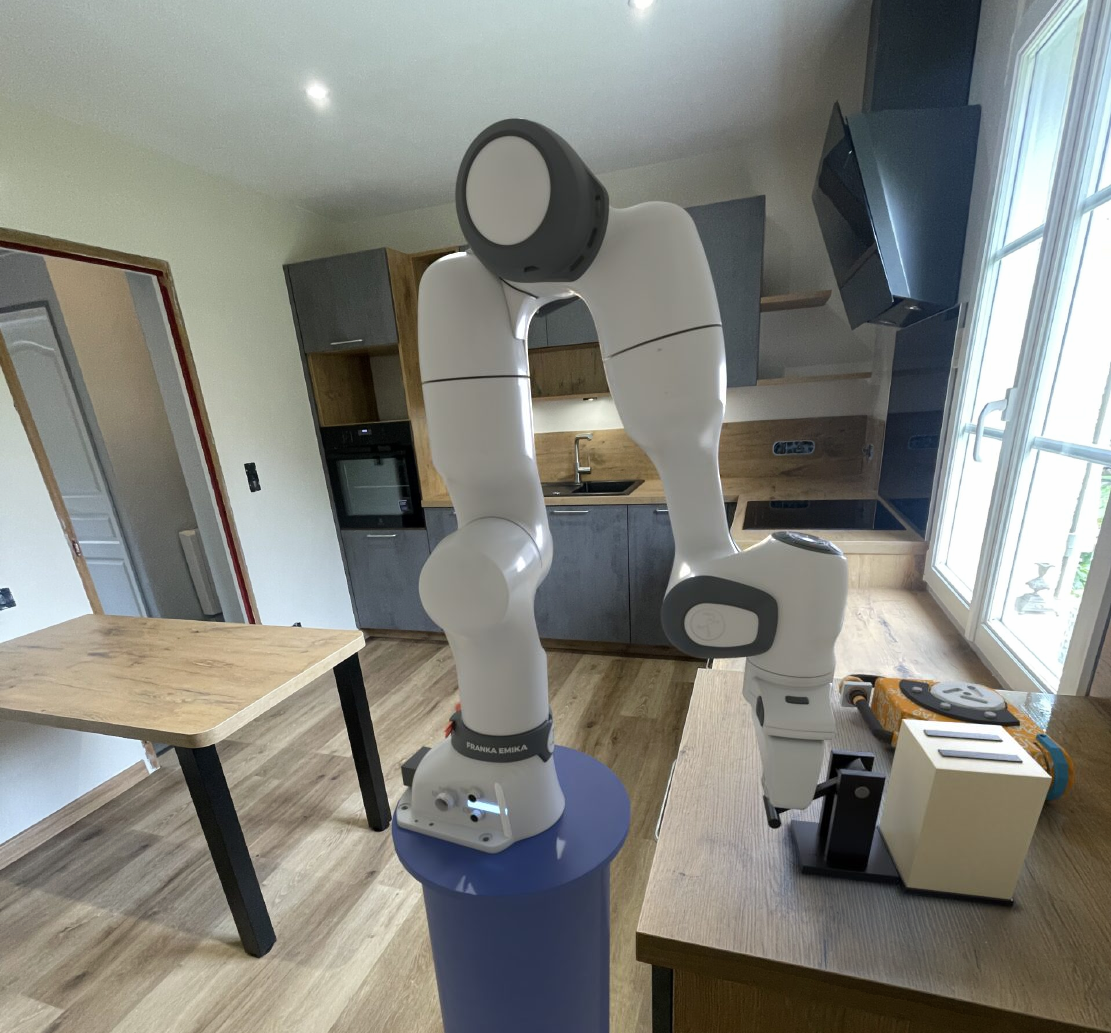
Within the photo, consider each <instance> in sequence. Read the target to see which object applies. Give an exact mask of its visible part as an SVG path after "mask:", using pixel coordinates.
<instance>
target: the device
mask: <svg viewBox="0 0 1111 1033" xmlns="http://www.w3.org/2000/svg"><path fill="white" fill-rule="evenodd" d="M872 691H873V692H872ZM838 693H839V694H840V696H839V702H838V703H839V705H840V707H842V708H856V709H857V710H858V712H859V714H860V716H861V717H862V719H863V721H864V722H865V724H866V726H867V728H868V729H869V731H870V733H871V735H872V736H873V738H875V739H877V741H879V742H880V743H883V744H885V745H889V746H890V747H891V748H894V749H895V750H896V746H897V741H898V737H899V732H900V727H901V723H902V719H908V720H923V721H938V722H952V723H967V724H982V725H997V726H1001V727H1002V728H1003V729H1004V730H1005V731H1006V732H1007V733H1008V734H1009V735H1010V736H1011V737H1012V738H1013V739H1014V740H1015V741H1016V742H1017V743H1018V744H1019V745H1020V746H1021V747H1022V748H1023V749H1024V750H1025V751H1026V752H1027V753H1028V754H1029V755H1030V756H1031V757H1032V758H1033V759H1034V760H1035V761H1036V762H1037V763H1038V764H1039V765H1040V766H1041V767H1042V768H1043V769H1044V770H1045V771H1046V772H1047V773H1048V774H1049V775H1050V776H1051V777H1052V780H1051V783H1050V786H1049V789H1048V792H1047V795H1046V798H1045V801H1046V800H1047V801H1053V800H1059V799H1060V798H1061V797H1062V796H1064V795H1065V796H1066V795H1067V794H1068V793H1069V792H1070V790H1071V788H1072V786H1073V785H1074V783H1075V781H1076V776H1075V769H1074V768H1075V767H1074V761H1073V759H1071V757H1070V755H1069V754H1068V752H1067V751H1066V750H1065V749H1064V748H1063V747H1062V746H1061V745H1060V744H1059V743H1058V742H1056V741H1055V740H1054V739H1053V738H1052V737H1051V736H1050V735H1048V734H1047V733H1046V731H1044V730H1043V729H1041V727H1039V726H1038V724H1036V723H1035V722H1034V721H1033V719H1031V718H1030V717H1029V716H1028V715H1027V714H1026V713H1025V712H1024V711H1021V710H1019V709H1018V708H1017V707H1015V706H1014V705H1013V704H1012V702H1010V701H1009V700H1008V699H1007V698H1005V697H1004V696H1003V695H1001V693H999V692H998V691H997V690H996V689H994V688H992V687H989V686H986V685H984V684H980V683H969V682H964V681H957V680H951V681H949V680H948V681H934V679H917V678H913V679H912V678H898V677H896V678H895V677H885V676H881V675H875V674H866V673H855V674H854V673H852V674H847V675H846V676H844V677H843V678H841V679H840V680H839V683H838ZM871 697H872V698H871ZM870 702H871V703H870Z"/></svg>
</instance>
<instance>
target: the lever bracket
mask: <svg viewBox="0 0 1111 1033" xmlns="http://www.w3.org/2000/svg"><path fill="white" fill-rule="evenodd" d="M858 758H860V760H861V761H862V763H863V765H864V766H865V768H866V769H867V771H857V770H845V769H839V774H838V773H837V771H836V768H837V767H839V766H842V765H844V764H846V763H849V762H851V761H854V760H856V759H858ZM875 759H876V758H875V755H874V753H873V752H871V751H857V750H844V749H833V748H832V749H830V753H829V760H828V766H827V773H826V778H825V781H827V780H830V779H832V778H835V777H837V776H838V780H837V786H836V791H835V792H833V793H830V794H828V795H825V796H823V797H822V801H821V806H820V814H819V818H818V819H819V820H818V822H817V821H806V820H798V819H797V820H796V819H791V820H790V827H789V828H790V832H791V836H792V841H793V845H794V848H795V853H796V856H797V860H798V865H799V868H800V873H801V874H803V875H811V876H820V877H828V878H835V879H837V878H838V879H844V880H852V881H861V882H870V883H878V884H887V885H895V886H898V883H899V875H898V873H897V871H896V868H895V866H894V864H893V862H892V860H891V857H890V855H889V853H888V851H887V849H886V846H885V844H884V842H883V840H882V838H881V835H880V833H879V831H878V829H876V828H877V822H878V818H879V813H880V809H881V808H880V807H881V803H882V798H883V793H884V788H885V784H886V779H887V777H886V776H885V774H884V772H880V771H873V767H874V763H875Z"/></svg>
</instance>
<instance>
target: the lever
mask: <svg viewBox="0 0 1111 1033" xmlns="http://www.w3.org/2000/svg"><path fill="white" fill-rule="evenodd" d="M839 769H845V770H857V771H867V769H866V768H865V766H864V765H863V763H862V761H861V760H860V758H858V759H856V760H854V761H851V762H849V763H846V764H844V765H842V766H839V767H837V768H836V771H837V773H838V774H839ZM837 780H838V776H837V777H835V778H832V779H830V780H827V781H826V780H825V781H823V782H821V783H817V786H816V790H815V794H814V797H813V800H812V802H813V801H815V800H818V799H821V798H823V796H825V795H828V794H830V793H833V792H835V791H836V786H837ZM762 800H763V806H764V810H765V815H766V822H767V825H768V827H769V828H771V829H772V830H776V829H780V828H781V826H782V820H781V816H780V814H783V813H786V812H788V811H790V810H792V809H787V808H779V807H775V806H773V805H772V804H771V803H770V799H769V798H767V797H765V795H764V794H763V795H762Z"/></svg>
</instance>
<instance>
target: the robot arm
mask: <svg viewBox="0 0 1111 1033" xmlns="http://www.w3.org/2000/svg"><path fill="white" fill-rule="evenodd" d="M454 192H455V193H454V194H455V196H454V199H455V201H454V202H455V210H456V215H457V220H458V223H459V228H460V230H461V232H462V236H463V238H464V239H465V241H466V243H467V245H468V247H469V248H467V249H466V250H465V251H460V252H454V253H450V254H447V255H444V256H442V257H440V258H438V259H436V260H435V261H434V262H432V263H431V264H430V265H429V266H428V267H427V268H426V270H425V271H424V272H423V274H422V276H421V279H420V281H419V286H418V297H417V348H418V362H419V363H418V364H419V371H420V372H419V373H420V382H421V389H422V390H421V391H422V396H423V397H422V398H423V403H424V410H425V411H424V412H425V419H426V427H427V433H428V441H429V448H430V449H429V450H430V456H431V461H432V464H433V467H434V468H435V470H436V473H437V474H439V476H440V477H441V479H442V480H443V483H444V485H445V487H446V490H447V492H448V495H449V498H450V500H451V503H452V507H453V509H454V513H455V517H456V520H457V522H456V523H457V530H455V531H453V532H451V533H450V534H448V535H446V536H445V537H444V538H442V539H441V540H440V541H439V542H438V543H437V545H436V546H435V548H434V549H433V550H432V552H431V553H430V554H429V556H428V558H427V560H426V561H425V563H424V565H423V567H422V569H421V571H420V574H419V578H418V579H419V580H418V593H419V594H418V595H419V598H420V603H421V605H422V607H423V609H424V611H425V612H426V614H427V616H428V617H429V618H430V619H431V620H432V622H433V623H434V624H435V625H437V627H439V628H441V629H442V630H443V632H444V635H445V637H446V640H447V642H448V645H449V648H450V650H451V654H452V657H453V660H454V661H453V662H454V664H455V670H456V677H457V685H458V693H459V701H458V703H457V704H456V705H455V712H454V713H453V714H451V715H450V717H449V719H448V724H447V725H446V726H445V728H444V730H443V732H444V734H445V735H444V738H443V739H442V740H441V741H439V742H438V743H436V744H435V745H433V746H432V747H429V746H424V745H423V746H421V747H420V748H419V749H418V750H417V751H416V752H414V754H412V755H411V756H410V758H408V759H407V760H406V761H405V762H404V763H403V764H402V765H400V771H401V777H402V784H403V786H404V787H407V788H406V789H405V790H404V791H403V793H404V794H403V793H402V795H401V796H402V797H401V796H400V798H401V799H400V798H399V800H400V801H399V800H398V801H399V804H398V807H397V824H398V826H399V827H401V828H404V829H408V830H411V831H415V832H418V833H422V834H425V835H429V836H432V837H435V838H439V839H442V840H446V841H449V842H453V843H456V844H460V845H463V846H467V847H470V848H474V849H477V850H481V851H484V852H487V853H498V852H501V851H502V850H504V849H506V848H507V847H509V846H510V845H512V844H513V843H514V842H517V841H519V840H522V839H526V838H529V837H532V836H535V835H537V834H539V833H541V832H543V831H545V830H547V829H548V828H550V827H551V826H552V825H553V824H554V823H555V822H556V821H557V820H558V819H559V818H560V816H561V815H562V813H563V810H564V807H565V799H564V795H563V793H562V790H561V788H560V785H559V782H558V778H557V774H556V770H555V765H554V760H553V750H554V744H555V723H554V720H553V719H554V718H553V710H552V708H551V706H550V704H549V680H548V657H547V652H546V651H545V649H544V648H543V646H542V643H541V640H540V636H539V631H538V628H537V623H536V618H535V598H536V593H537V590H538V588H539V586H541V584H542V583H543V582H544V581H545V579H546V577H547V576H548V574H549V572H550V570H551V567H552V563H553V556H554V541H553V540H554V539H553V536H552V533H551V530H550V526H549V520H548V512H547V508H546V503H545V497H544V493H543V487H542V483H541V478H540V475H539V473H540V472H539V469H538V463H537V455H536V445H535V434H534V420H533V406H532V405H533V404H532V392H531V379H530V366H529V356H528V333H529V326H530V324H531V320H532V318H533V317H534V318H544V317H546V316H548V315H550V314H552V313H554V312H556V311H558V310H559V309H562V308H564V307H567V306H568V305H571V304H573V303H576V302H578V301H579V300H581V299H582V300H583V301H584V303H585V304H586V306H587V307H588V309H589V312H590V314H591V317H592V319H593V322H594V326H595V330H596V333H597V338H598V343H599V348H600V353H601V359H602V362H603V368H604V373H605V378H606V381H607V385H608V388H609V393H610V395H611V398H612V401H613V404H614V407H615V409H616V412H617V415H618V417H619V420H620V422H621V424H622V426H623V429H624V431H625V433H626V434H627V436H628V437H629V438H630V439H631V440H632V441H633V442H634V443H635V444H636V445H637V446H638V447H639V448H640V449H641V450H642V451H643V452H644V453H645V454H646V456H647V457H648V458H649V459H650V461H651V462H652V464H653V466H654V467H655V470H656V472H657V473H658V476H659V479H660V481H661V485H662V488H663V493H664V498H665V502H666V507H667V512H668V516H669V522H670V526H671V531H672V535H673V540H674V555H673V559H672V563H671V566H670V570H669V575H668V582H667V583H668V584H667V587H666V590H665V593H664V596H663V600H662V604H661V608H660V622H661V628H662V630H663V632H664V635H665V637H666V638H667V639H668V641H669V642H670V644H672V645H673V646H674V647H675V648H676V649H677V650H678V651H680V652H682V653H684V654H685V655H688V656H690V657H693V658H697V659H702V660H704V659H705V660H722V659H725V660H726V659H740V658H745V664H744V673H743V681H742V688H741V695H742V697H743V698H744V700H745V701H746V702H747V703H748V704H749V706H750V707H751V710H750V711H751V714H750V715H751V720H752V723H753V729H754V734H755V737H756V741H757V746H758V751H759V756H760V761H761V766H762V767H761V768H762V772H761V780H760V781H761V785H762V790H763V795H765V797H767V798H769V799H770V803H771V804H772V805H773V806H775V807H779V808H787V809H791V810H798V811H804V810H806V809H807V808H809V807H810V805H811V804H812V802H813V801H814V800H813V797H814V794H815V790H816V786H817V785H818V784H819V779H820V775H821V772H822V771H821V770H822V766H823V762H824V755H825V741H832V740H833V738H834V735H835V731H836V730H835V729H836V720H835V714H834V708H833V702H832V697H833V696H832V695H833V691H834V690H833V689H834V685H833V682H834V678H835V677H834V676H835V672H836V665H837V660H836V658H837V657H836V653H835V650H836V642H837V640H838V637H839V636H840V634H841V632H842V631H843V626H844V622H845V616H846V610H847V602H848V595H849V594H848V593H849V579H850V572H849V568H850V567H849V561H848V559H847V557H846V555H845V554H844V552H843V551H842V550H841V549H840V548H839V547H838V546H836V544H834V543H832V542H831V541H829V540H827V539H824V538H821V537H820V536H817V535H813V534H809V533H804V532H799V531H789V530H788V531H786V530H785V531H784V530H782V531H781V530H779V531H775V532H772V533H770V534H769V535H768V536H766V537H765V538H764V539H762V540H761V541H759V542H757V543H755V544H753V545H752V546H749V547H747V548H745V549H743V550H741V549H740V547H739V545H738V544H737V543H736V542H735V540H734V539H733V536H732V534H731V531H730V527H729V522H728V518H727V511H726V507H725V501H724V500H725V499H724V494H723V488H722V481H721V477H720V471H719V470H720V468H719V446H720V437H721V432H722V426H723V422H724V417H725V413H726V412H725V411H726V400H727V399H726V398H727V360H726V359H727V357H726V347H725V337H724V330H723V327H722V326H723V324H722V323H723V322H722V317H721V312H720V307H719V302H718V296H717V292H716V287H715V284H714V278H713V276H712V272H711V269H710V264H709V261H708V258H707V255H706V252H705V249H704V248H705V247H704V245H703V243H702V240H701V237H700V235H699V231H698V228H697V226H696V223H695V221H694V219H693V217H692V216H691V215H690V213H689V212H688V211H686V209H684V208H683V207H681V206H680V205H678V204H677V203H673V202H670V201H669V202H668V201H662V200H661V201H660V200H652V201H651V200H650V201H644V202H641V203H638V204H636V205H632V206H629V207H626V208H615V207H614V206H611V204H610V196H609V192H608V191H607V188H606V187H605V186H604V185H603V183H602V182H601V181H600V180H599V179H598V178H597V176H596V175H595V174H594V173H593V171H592V170H591V169H590V168H589V167H588V166H587V164H586V163H585V162H584V160H583V159H582V157H580V155H579V154H578V153H577V151H576V150H575V149H574V148H573V147H572V146H571V144H570V143H569V142H568V141H567V140H566V139H564V138H563V137H562V136H561V135H560V134H559V133H557V132H556V131H554V130H553V129H551V128H549V127H547V126H545V125H544V124H542V123H540V122H538V121H535V120H532V119H527V118H521V117H517V118H514V117H512V118H511V117H510V118H505V119H501V120H499V121H496V122H494V123H492V124H490V125H488V126H487V127H486V128H485V129H483V130H482V131H480V132H479V134H477V136H475V138H474V139H473V140H472V141H471V143H470V145H469V146H468V148H467V149H466V151H465V152H464V154H463V157H462V160H461V162H460V164H459V168H458V172H457V176H456V180H455V190H454ZM812 800H813V801H812Z"/></svg>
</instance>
